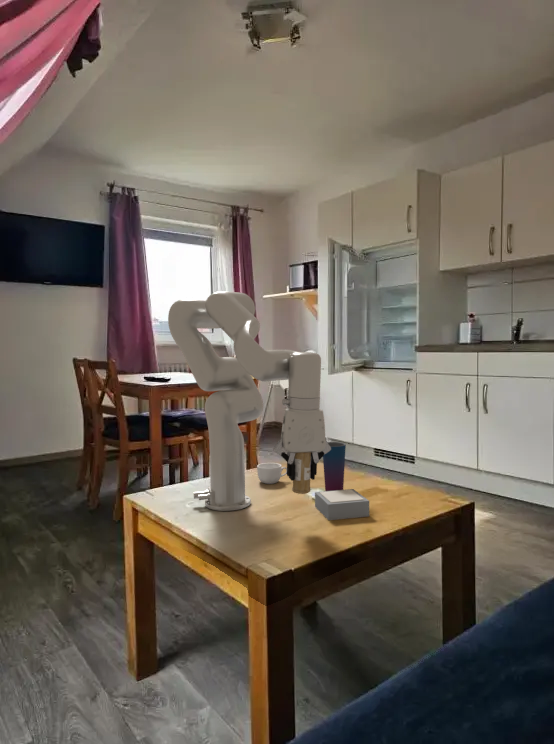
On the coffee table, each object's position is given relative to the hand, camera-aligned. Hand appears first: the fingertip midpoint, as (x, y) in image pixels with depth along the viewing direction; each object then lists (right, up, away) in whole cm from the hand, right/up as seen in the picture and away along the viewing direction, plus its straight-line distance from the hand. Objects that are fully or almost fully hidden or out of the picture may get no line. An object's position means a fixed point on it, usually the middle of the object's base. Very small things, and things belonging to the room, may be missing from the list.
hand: (301, 477), depth 125 cm
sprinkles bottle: (0, -4, 0) cm, 4 cm away
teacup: (-7, -10, +40) cm, 42 cm away
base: (+11, -11, +10) cm, 19 cm away
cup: (+11, -10, +25) cm, 29 cm away
